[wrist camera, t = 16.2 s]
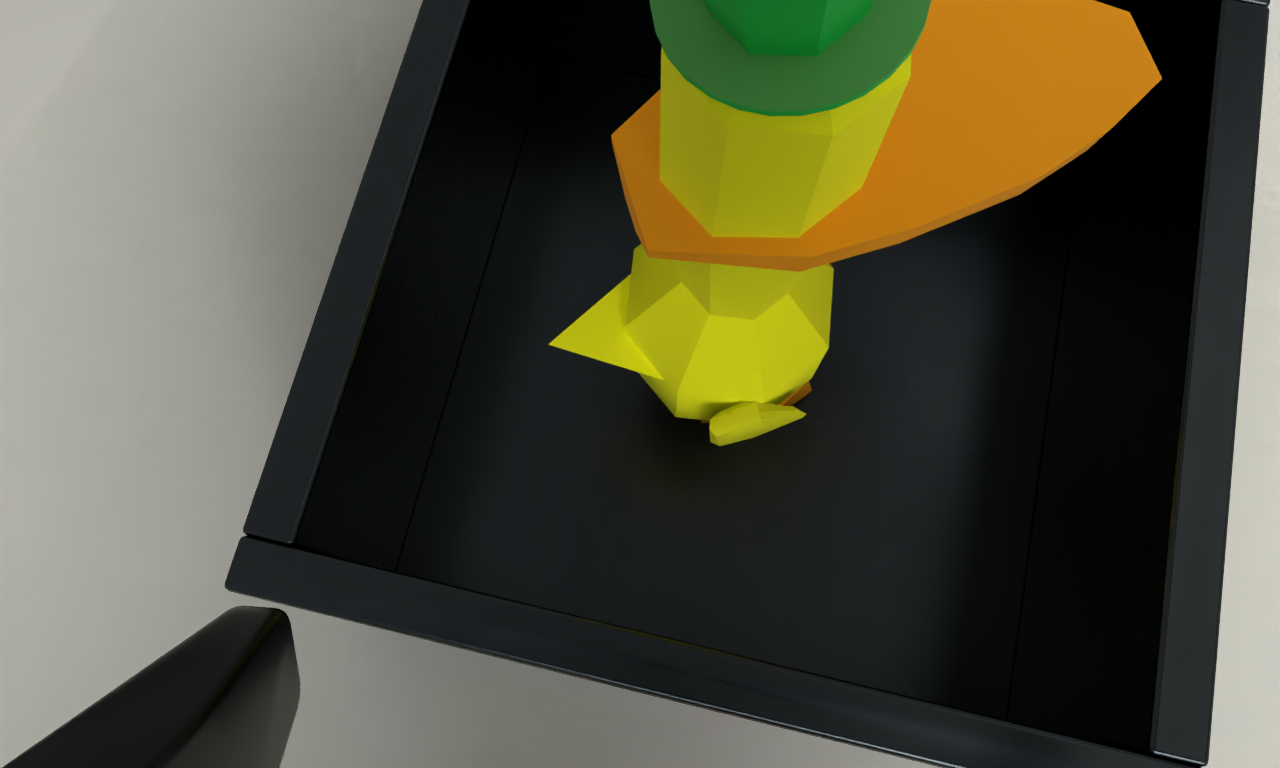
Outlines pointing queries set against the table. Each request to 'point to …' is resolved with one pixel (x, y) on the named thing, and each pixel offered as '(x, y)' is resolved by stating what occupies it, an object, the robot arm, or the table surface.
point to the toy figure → (828, 170)
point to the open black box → (801, 450)
